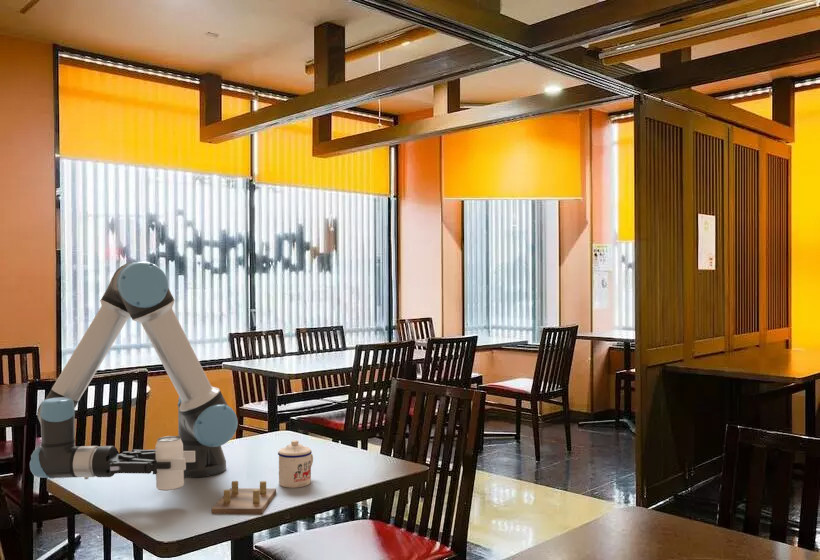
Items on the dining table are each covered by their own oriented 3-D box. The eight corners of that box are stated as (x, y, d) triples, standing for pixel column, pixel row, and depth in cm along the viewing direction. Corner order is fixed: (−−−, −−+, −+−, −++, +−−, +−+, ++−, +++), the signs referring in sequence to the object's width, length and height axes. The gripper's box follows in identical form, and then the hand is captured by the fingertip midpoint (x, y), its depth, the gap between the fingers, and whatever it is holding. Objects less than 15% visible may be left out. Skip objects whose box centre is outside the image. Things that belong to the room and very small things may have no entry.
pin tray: (230, 492, 182) (230, 476, 182) (276, 493, 181) (276, 477, 181) (211, 513, 166) (211, 495, 166) (261, 513, 165) (261, 496, 165)
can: (158, 492, 168) (157, 442, 167) (154, 485, 173) (153, 437, 173) (186, 488, 171) (185, 439, 170) (181, 481, 176) (180, 434, 176)
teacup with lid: (297, 490, 184) (297, 446, 184) (271, 485, 188) (270, 442, 188) (324, 479, 194) (324, 437, 194) (299, 474, 199) (299, 433, 199)
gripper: (115, 465, 182) (202, 464, 181) (78, 488, 163) (176, 487, 162) (114, 437, 182) (202, 435, 181) (77, 456, 162) (175, 455, 162)
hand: (189, 460), depth 172 cm, fingers closed on can, 6 cm apart
